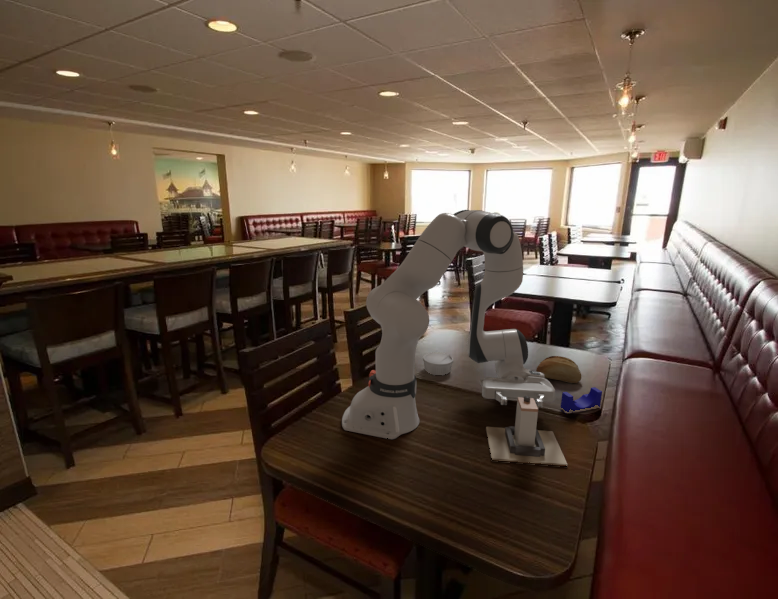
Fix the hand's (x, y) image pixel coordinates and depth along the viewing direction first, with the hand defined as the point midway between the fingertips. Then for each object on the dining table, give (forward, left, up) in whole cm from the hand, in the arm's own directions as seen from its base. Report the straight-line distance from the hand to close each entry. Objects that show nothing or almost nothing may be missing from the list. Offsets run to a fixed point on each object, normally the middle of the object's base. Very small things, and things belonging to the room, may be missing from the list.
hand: (522, 403), depth 110 cm
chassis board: (0, -7, -9) cm, 11 cm away
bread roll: (+20, +36, -9) cm, 42 cm away
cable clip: (+21, +16, -9) cm, 28 cm away
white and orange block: (0, -7, -8) cm, 10 cm away
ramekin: (-23, +37, -9) cm, 45 cm away
